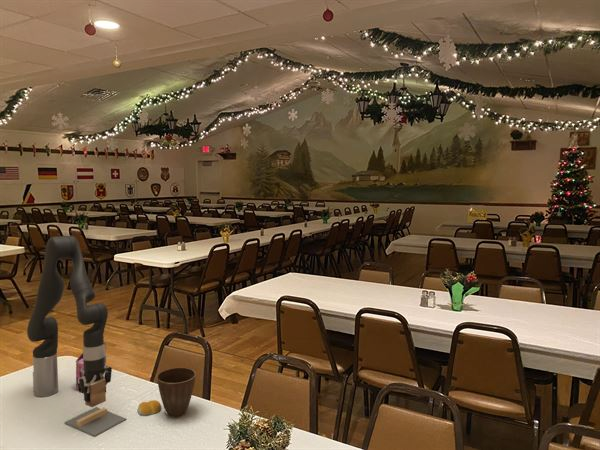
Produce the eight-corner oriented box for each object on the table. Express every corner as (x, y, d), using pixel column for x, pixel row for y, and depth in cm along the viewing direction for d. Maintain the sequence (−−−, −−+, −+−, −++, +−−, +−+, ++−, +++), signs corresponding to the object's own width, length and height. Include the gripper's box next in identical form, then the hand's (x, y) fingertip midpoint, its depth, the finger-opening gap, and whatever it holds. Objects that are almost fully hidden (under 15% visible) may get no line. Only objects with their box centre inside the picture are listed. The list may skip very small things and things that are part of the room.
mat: (64, 423, 174) (64, 417, 174) (96, 408, 187) (96, 402, 186) (94, 436, 166) (94, 430, 165) (126, 419, 178) (126, 414, 178)
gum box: (93, 390, 202) (92, 361, 201) (74, 392, 201) (73, 362, 200) (106, 369, 226) (106, 342, 225) (89, 370, 224) (89, 343, 223)
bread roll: (163, 412, 185) (163, 402, 184) (140, 418, 180) (140, 408, 179) (157, 403, 191) (157, 394, 191) (135, 409, 187) (135, 400, 186)
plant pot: (203, 409, 187) (203, 372, 185) (177, 426, 174) (177, 386, 172) (176, 401, 194) (175, 364, 192) (149, 416, 181) (148, 377, 179)
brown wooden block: (85, 404, 174) (84, 382, 173) (99, 398, 179) (98, 376, 178) (92, 407, 172) (91, 384, 171) (105, 400, 177) (105, 378, 176)
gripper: (103, 348, 182) (105, 388, 183) (70, 360, 169) (72, 403, 171) (116, 351, 178) (117, 393, 180) (83, 364, 166) (84, 408, 167)
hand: (95, 398), depth 175 cm, fingers closed on brown wooden block, 6 cm apart
